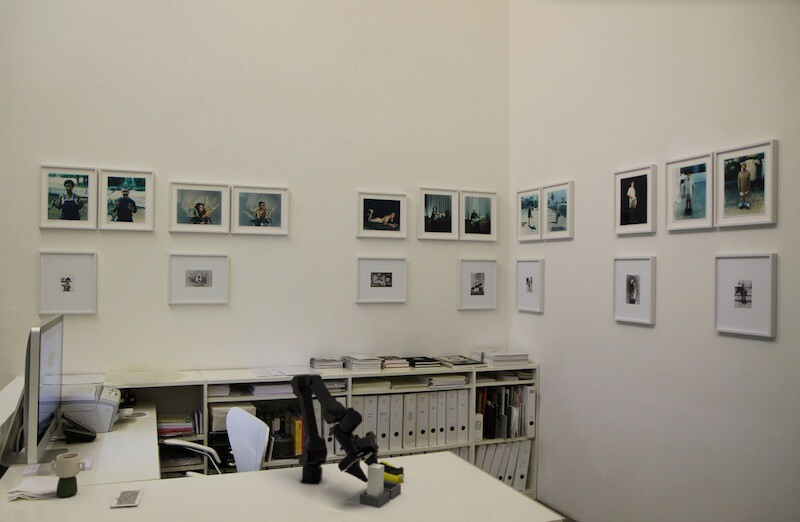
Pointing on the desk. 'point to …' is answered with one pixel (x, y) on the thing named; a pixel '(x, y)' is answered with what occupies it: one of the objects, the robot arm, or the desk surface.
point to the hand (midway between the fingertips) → (373, 477)
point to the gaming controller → (392, 473)
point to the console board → (388, 494)
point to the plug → (375, 480)
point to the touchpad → (127, 497)
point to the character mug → (67, 473)
